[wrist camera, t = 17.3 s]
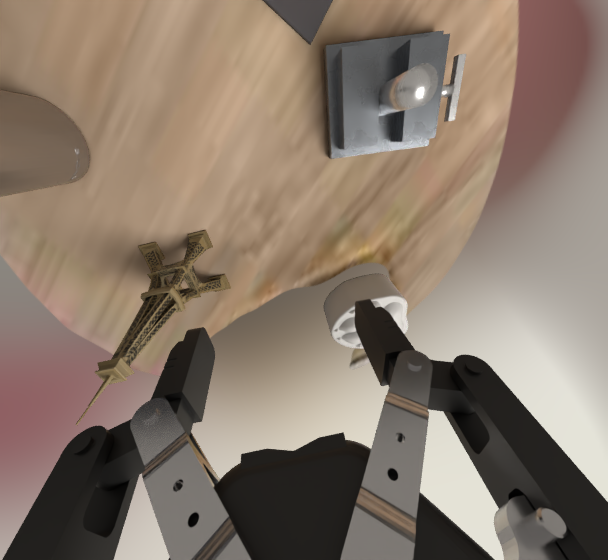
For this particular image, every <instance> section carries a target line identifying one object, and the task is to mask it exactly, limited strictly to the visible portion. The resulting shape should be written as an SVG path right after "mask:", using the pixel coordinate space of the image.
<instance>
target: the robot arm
mask: <svg viewBox="0 0 608 560" xmlns="http://www.w3.org/2000/svg"><path fill="white" fill-rule="evenodd" d="M89 160H90V157H89V150H88V147H87V144H86V141H85V139H84V137H83V135H82V134H81V132H80V130H79V129H78V128H77V126H76V125H75V124H74V122H73V121H72V120H71V119H70V118H69V117H68V116H67V115H66V114H65V113H64V112H62V111H61V110H60V109H58V108H57V107H56V106H54V105H52V104H51V103H49V102H47V101H45V100H43V99H40V98H37V97H35V96H29V95H24V94H19V93H14V92H8V91H3V90H0V197H2V196H7V195H12V194H17V193H22V192H27V191H32V190H37V189H42V188H48V187H53V186H58V185H63V184H68V183H72V182H75V181H77V180H79V179H81V178H82V177H83V176H84V175H85V173H86V172H87V169H88V167H89ZM355 328H356V332H357V334H358V337H359V339H360V341H361V343H362V345H363V347H364V350H365V352H366V354H367V356H368V358H369V361H370V363H371V365H372V367H373V369H374V371H375V374H376V376H377V378H378V380H379V382H380V385H381V386H385V385H389V390H388V394H387V395H386V398H385V401H384V405H383V409H382V412H381V416H380V420H379V423H378V427H377V430H376V434H375V438H374V442H373V445H372V449H370V448H368V447H367V446H365V445H363V444H360V443H358V442H354V441H350V440H345V436H344V433H339V434H334V435H329V436H325V437H320V438H317V439H316V440H314V441H312V442H310V443H308V444H307V445H304V446H303V447H301V448H299V449H297V450H295V451H287V450H276V449H263V450H259V451H254V452H249V453H245V454H241V463H240V464H238V465H237V466H235V467H234V468H232V469H231V470H230V471H229V472H227V473H226V474H225V475H224V476H223V477H222V478H221V479H219V478H218V476H217V474H216V473H215V472H214V470H213V469H212V467H211V465H210V464H209V462H208V460H207V458H206V457H205V455H204V453H203V451H202V450H201V448H200V446H199V445H198V443H197V441H196V439H195V438H194V436H193V434H192V433H191V429H192V425H193V423H196V422H201V421H202V418H203V413H204V409H205V403H206V399H207V394H208V389H209V384H210V379H211V375H212V370H213V365H214V360H215V351H214V347H213V345H212V343H211V340H210V338H209V336H208V334H207V331H206V329H205V328H204V327H202V328H197V329H191V330H188V331H187V332H186V335H185V338H184V340H183V341H181V342H178V343H177V344H176V345H175V346H174V348H173V349H172V350H171V352H170V354H169V356H168V359H167V362H166V364H165V366H164V370H163V371H162V374H161V376H160V379H159V381H158V384H157V386H156V389H155V391H154V393H153V396H152V398H151V400H150V401H148V402H146V403H145V404H143V405H142V406H141V407H140V408H139V409H138V410H137V411H136V413H135V414H134V416H133V417H132V419H131V420H129V421H127V422H125V423H122V424H120V425H118V426H116V427H114V428H112V429H110V430H106V429H105V428H104V427H102V426H93V427H91V428H88V429H86V430H85V431H83V432H81V433H80V434H78V435H77V436H76V437H75V438H74V439H73V440H72V441H71V442H70V443H69V444H68V445H67V447H66V448H65V449H64V451H63V452H62V454H61V456H60V458H59V460H58V462H57V463H56V465H55V467H54V469H53V471H52V472H51V474H50V476H49V478H48V479H47V481H46V483H45V485H44V486H43V488H42V490H41V492H40V494H39V495H38V497H37V499H36V501H35V502H34V504H33V506H32V508H31V509H30V511H29V513H28V515H27V517H26V518H25V520H24V523H23V524H22V526H21V527H20V529H19V531H18V533H17V534H16V536H15V538H14V540H13V542H12V543H11V545H10V547H9V549H8V550H7V553H6V554H5V556H4V558H3V560H113V559H114V556H115V552H116V549H117V546H118V543H119V539H120V536H121V533H122V529H123V526H124V523H125V520H126V516H127V513H128V510H129V506H130V503H131V500H132V496H133V493H134V490H135V487H136V483H137V480H138V477H139V474H141V473H142V477H143V481H144V484H145V487H146V489H147V492H148V495H149V498H150V501H151V504H152V507H153V510H154V513H155V516H156V518H157V521H158V524H159V527H160V530H161V533H162V536H163V539H164V542H165V545H166V547H167V550H168V553H169V555H170V558H169V560H494V559H493V558H492V557H491V556H490V555H489V554H488V553H487V552H486V551H485V550H484V549H483V548H482V547H480V546H479V545H478V544H477V543H476V542H475V541H474V540H473V539H472V538H470V537H469V536H468V535H467V534H466V533H465V532H464V531H463V530H461V529H460V528H459V527H458V526H457V525H456V524H455V523H454V522H453V521H451V520H450V519H449V518H448V517H447V516H446V515H445V514H444V513H443V512H441V511H440V510H439V509H438V508H437V507H436V506H435V505H434V504H432V503H431V502H430V501H429V500H428V499H427V498H426V497H424V495H423V494H421V493H420V484H421V476H422V467H423V459H424V451H425V442H426V435H427V426H428V418H429V412H428V409H430V410H437V411H444V413H445V415H446V416H447V418H448V420H449V422H450V424H451V425H452V427H453V429H454V431H455V432H456V434H457V436H458V437H459V439H460V441H461V443H462V445H463V446H464V448H465V450H466V452H467V453H468V455H469V457H470V459H471V460H472V462H473V464H474V466H475V467H476V469H477V471H478V473H479V475H480V476H481V478H482V480H483V482H484V483H485V485H486V487H487V488H488V490H489V492H490V494H491V495H492V497H493V499H494V501H495V503H496V504H497V506H498V508H499V510H498V511H497V512H496V514H495V517H494V525H495V531H496V534H497V536H498V539H499V541H500V544H501V546H502V549H503V554H504V560H608V502H607V501H606V500H605V498H604V497H603V496H602V495H601V494H600V493H599V492H598V490H597V489H596V488H595V487H594V486H593V485H592V483H591V482H590V481H589V480H588V479H587V478H586V477H585V475H584V474H583V473H582V472H581V471H580V470H579V469H578V467H577V466H576V465H575V464H574V463H573V462H572V460H571V459H570V458H569V457H568V456H567V455H566V454H565V452H564V451H563V450H562V449H561V448H560V447H559V445H558V444H557V443H556V442H555V441H554V440H553V439H552V438H551V436H550V435H549V434H548V433H547V432H546V431H545V429H544V428H543V427H542V426H541V425H540V424H539V422H538V421H537V420H536V419H535V418H534V417H533V416H532V414H531V413H530V412H529V411H528V410H527V409H526V407H525V406H524V405H523V404H522V403H521V402H520V401H519V399H517V397H516V396H515V395H514V394H513V392H512V391H511V390H510V389H509V388H508V387H507V386H506V385H505V383H504V382H503V381H502V380H501V379H500V378H499V376H498V375H497V374H496V373H495V372H494V371H493V369H492V368H491V367H490V366H489V365H488V364H487V363H486V362H484V361H483V360H481V359H479V358H477V357H475V356H471V355H460V356H457V357H456V358H455V359H454V362H444V361H434V360H430V359H429V358H428V357H427V356H426V355H424V354H423V353H421V352H418V351H416V350H415V349H414V348H413V346H412V345H411V343H410V342H409V341H408V339H407V338H406V336H405V335H404V333H403V332H402V330H401V329H400V327H398V324H397V323H396V321H394V319H393V317H392V316H391V314H390V313H389V312H388V311H387V310H385V309H384V308H382V307H376V308H375V306H374V304H373V303H372V301H371V300H370V299H365V300H360V301H356V302H355Z"/></svg>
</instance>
